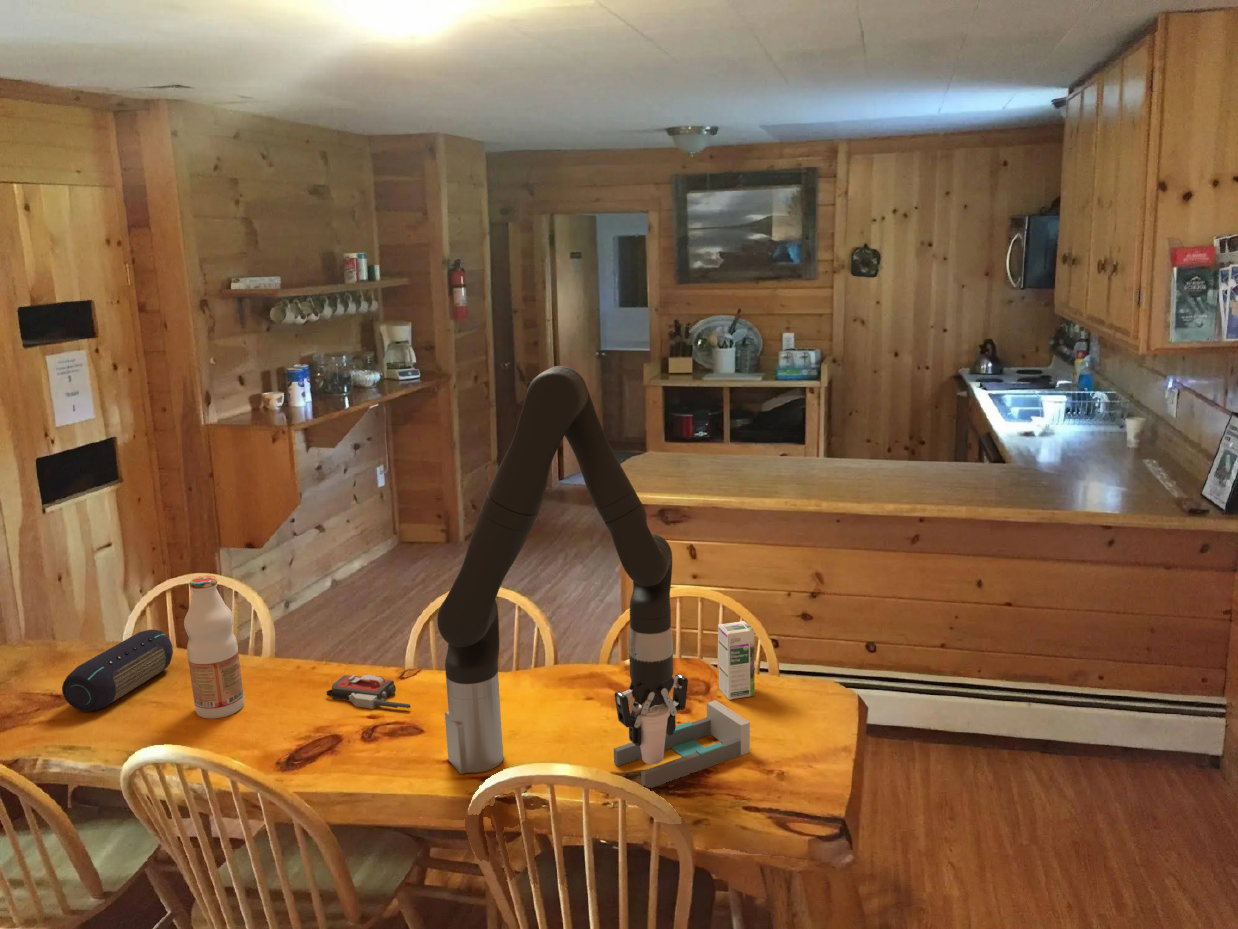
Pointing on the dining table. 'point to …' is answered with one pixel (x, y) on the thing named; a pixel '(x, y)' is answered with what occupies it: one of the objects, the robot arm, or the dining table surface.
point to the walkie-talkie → (365, 691)
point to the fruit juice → (212, 652)
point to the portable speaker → (117, 670)
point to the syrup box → (736, 659)
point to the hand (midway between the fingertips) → (652, 738)
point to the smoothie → (653, 733)
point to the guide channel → (695, 745)
